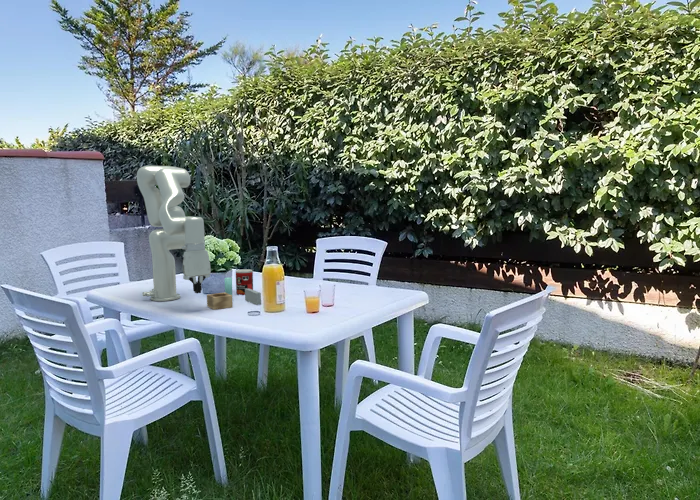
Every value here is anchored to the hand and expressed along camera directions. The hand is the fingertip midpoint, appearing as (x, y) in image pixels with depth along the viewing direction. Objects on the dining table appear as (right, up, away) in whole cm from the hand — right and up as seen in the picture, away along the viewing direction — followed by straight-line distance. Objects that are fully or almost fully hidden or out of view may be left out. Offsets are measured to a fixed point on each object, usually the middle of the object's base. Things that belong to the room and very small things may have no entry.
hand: (197, 292), depth 198 cm
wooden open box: (+7, -7, +7) cm, 12 cm away
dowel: (+8, -5, +20) cm, 22 cm away
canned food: (+12, -4, +35) cm, 37 cm away
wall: (+19, -6, +16) cm, 25 cm away
